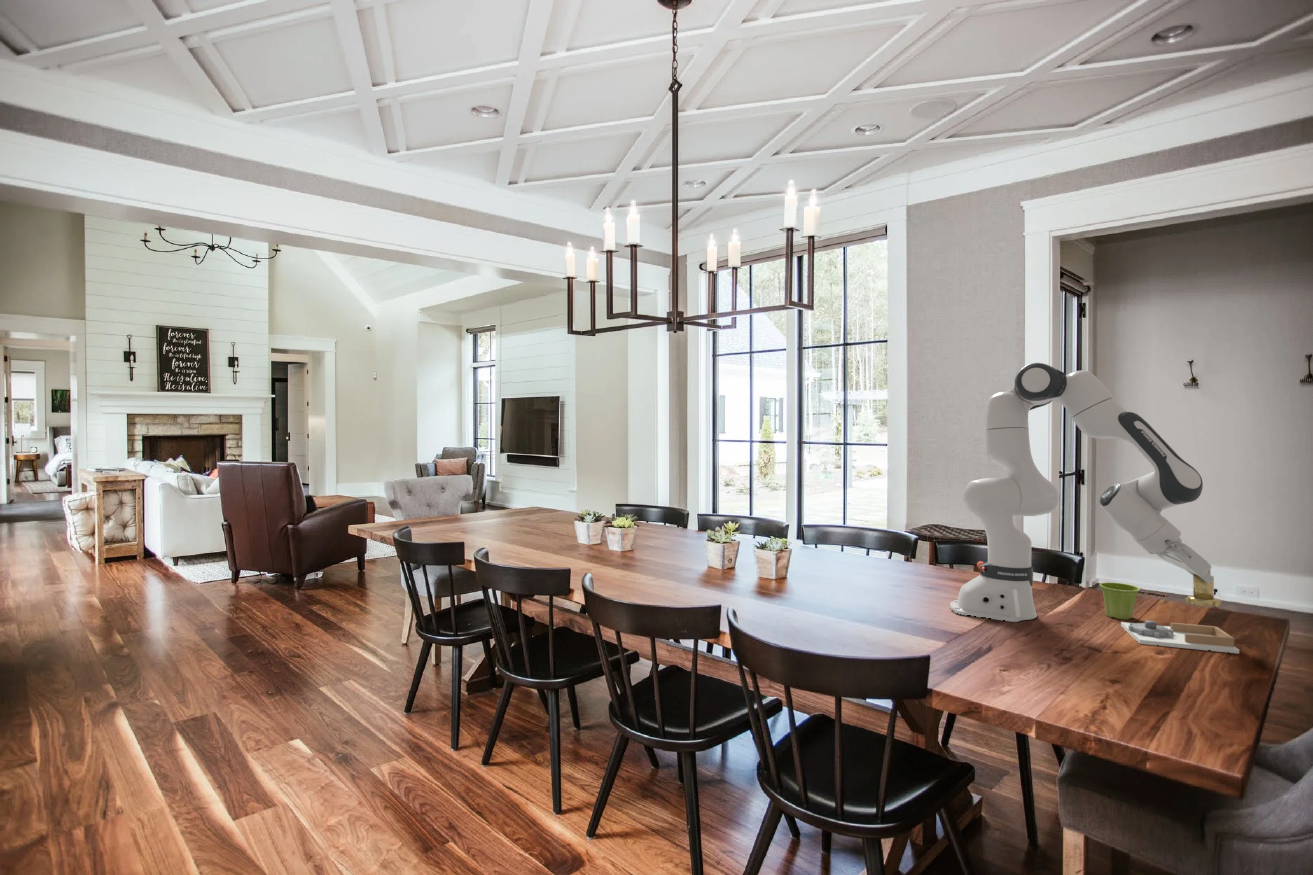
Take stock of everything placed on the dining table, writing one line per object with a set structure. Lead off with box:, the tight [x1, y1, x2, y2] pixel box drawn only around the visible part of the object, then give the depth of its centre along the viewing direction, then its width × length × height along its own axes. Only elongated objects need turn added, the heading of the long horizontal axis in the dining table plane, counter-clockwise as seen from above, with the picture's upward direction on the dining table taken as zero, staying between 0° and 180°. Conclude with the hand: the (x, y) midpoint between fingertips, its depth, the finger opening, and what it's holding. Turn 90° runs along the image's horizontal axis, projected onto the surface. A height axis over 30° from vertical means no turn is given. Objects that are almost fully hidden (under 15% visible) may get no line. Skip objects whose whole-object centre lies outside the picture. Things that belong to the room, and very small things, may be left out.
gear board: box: [1120, 619, 1240, 654], centre depth 173 cm, size 20×16×4 cm
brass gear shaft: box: [1185, 568, 1222, 608], centre depth 170 cm, size 7×6×9 cm
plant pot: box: [1099, 582, 1141, 620], centre depth 193 cm, size 9×9×9 cm
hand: (1205, 579), depth 170 cm, fingers closed on brass gear shaft, 4 cm apart
